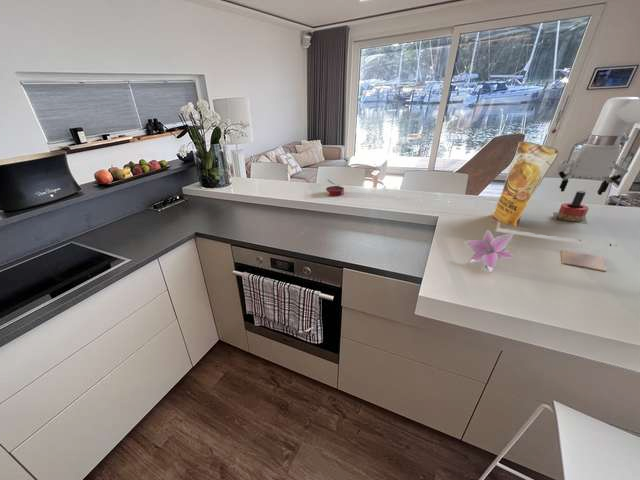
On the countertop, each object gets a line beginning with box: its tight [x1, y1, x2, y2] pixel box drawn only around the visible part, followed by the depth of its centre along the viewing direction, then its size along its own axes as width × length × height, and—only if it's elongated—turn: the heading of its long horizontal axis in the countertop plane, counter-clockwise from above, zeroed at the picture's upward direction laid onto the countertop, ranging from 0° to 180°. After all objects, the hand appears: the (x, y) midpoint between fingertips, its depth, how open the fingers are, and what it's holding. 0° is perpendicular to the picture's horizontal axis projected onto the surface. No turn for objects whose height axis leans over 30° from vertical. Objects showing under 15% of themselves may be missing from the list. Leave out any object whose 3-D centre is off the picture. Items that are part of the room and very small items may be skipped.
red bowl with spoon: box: [325, 178, 345, 197], centre depth 159 cm, size 11×10×10 cm
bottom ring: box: [557, 211, 586, 222], centre depth 106 cm, size 7×7×2 cm
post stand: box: [553, 190, 588, 225], centre depth 105 cm, size 9×9×11 cm
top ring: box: [558, 202, 590, 216], centre depth 105 cm, size 7×7×2 cm
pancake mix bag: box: [492, 140, 559, 227], centre depth 105 cm, size 7×19×28 cm, turn 170°
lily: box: [464, 229, 515, 269], centre depth 86 cm, size 12×12×10 cm
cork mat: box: [560, 249, 607, 272], centre depth 84 cm, size 9×9×1 cm
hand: (580, 192), depth 102 cm, fingers open, 9 cm apart
